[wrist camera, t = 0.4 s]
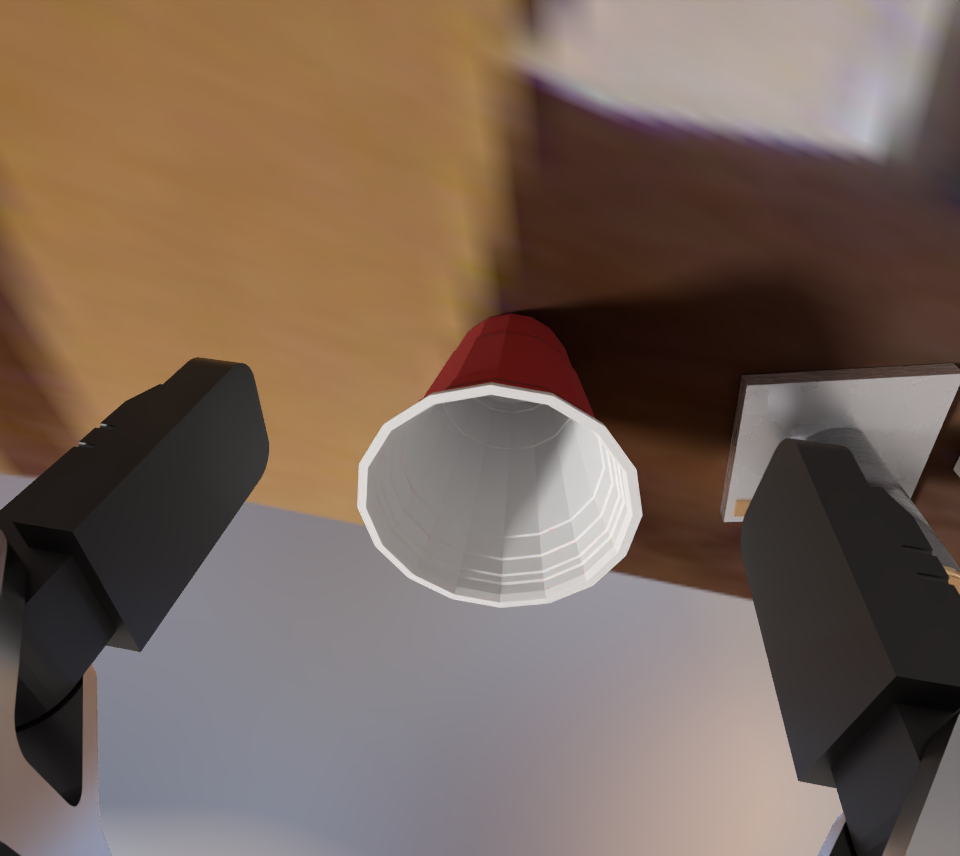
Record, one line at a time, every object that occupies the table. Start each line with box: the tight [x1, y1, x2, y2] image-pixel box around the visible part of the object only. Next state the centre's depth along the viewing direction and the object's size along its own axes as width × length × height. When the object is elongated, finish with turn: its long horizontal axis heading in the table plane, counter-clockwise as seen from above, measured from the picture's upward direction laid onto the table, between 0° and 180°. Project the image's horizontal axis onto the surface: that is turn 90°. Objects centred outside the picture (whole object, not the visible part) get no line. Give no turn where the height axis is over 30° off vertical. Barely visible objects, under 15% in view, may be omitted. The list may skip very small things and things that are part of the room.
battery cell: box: [805, 428, 960, 594], centre depth 28 cm, size 4×4×10 cm
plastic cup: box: [357, 313, 642, 608], centre depth 26 cm, size 11×11×12 cm
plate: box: [720, 363, 960, 522], centre depth 32 cm, size 10×10×1 cm
